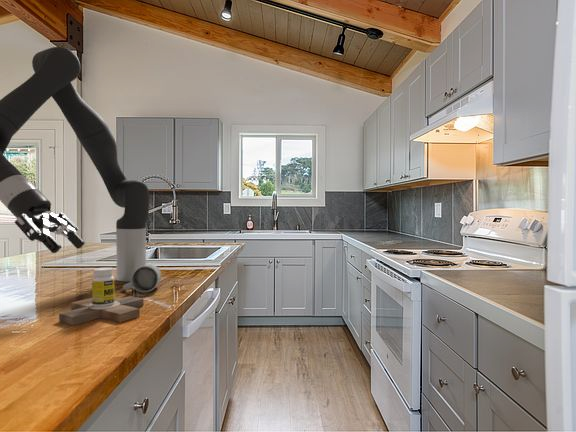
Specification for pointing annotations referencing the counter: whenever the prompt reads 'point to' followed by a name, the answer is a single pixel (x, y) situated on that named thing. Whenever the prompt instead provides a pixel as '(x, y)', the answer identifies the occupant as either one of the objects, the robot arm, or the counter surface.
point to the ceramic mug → (144, 278)
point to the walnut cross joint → (102, 311)
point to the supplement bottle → (103, 287)
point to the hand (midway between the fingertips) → (70, 248)
